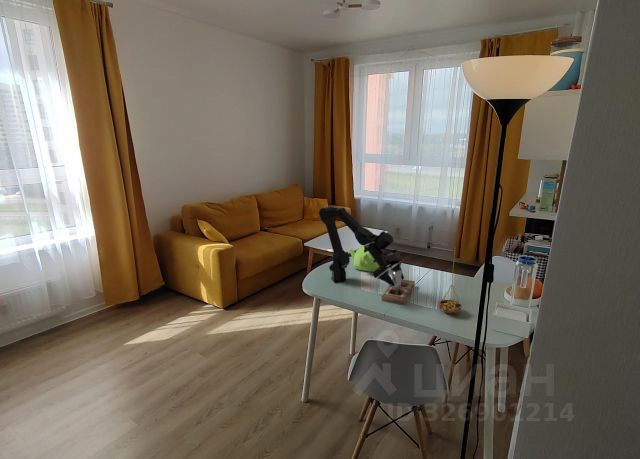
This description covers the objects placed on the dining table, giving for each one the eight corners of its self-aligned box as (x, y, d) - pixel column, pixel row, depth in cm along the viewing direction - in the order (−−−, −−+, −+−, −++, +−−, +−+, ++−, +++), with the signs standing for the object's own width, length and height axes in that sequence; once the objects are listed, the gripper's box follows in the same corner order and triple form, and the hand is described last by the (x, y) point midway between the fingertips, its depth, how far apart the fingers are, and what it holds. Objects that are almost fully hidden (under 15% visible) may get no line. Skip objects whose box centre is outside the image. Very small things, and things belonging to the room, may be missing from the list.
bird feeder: (462, 318, 140) (469, 248, 132) (439, 316, 142) (445, 247, 134) (458, 308, 148) (464, 241, 140) (437, 306, 150) (442, 241, 142)
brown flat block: (403, 305, 152) (403, 299, 151) (381, 300, 156) (381, 295, 155) (414, 286, 171) (414, 281, 170) (394, 282, 175) (394, 277, 174)
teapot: (342, 271, 191) (342, 249, 188) (355, 260, 208) (356, 239, 205) (374, 276, 183) (374, 253, 180) (385, 264, 200) (385, 243, 197)
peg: (392, 299, 157) (393, 272, 154) (390, 295, 161) (391, 269, 158) (401, 299, 157) (402, 272, 154) (399, 295, 161) (400, 269, 158)
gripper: (379, 250, 148) (401, 280, 144) (399, 240, 162) (419, 267, 158) (363, 263, 155) (384, 292, 151) (383, 252, 169) (403, 278, 165)
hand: (398, 282), depth 156 cm, fingers open, 9 cm apart
